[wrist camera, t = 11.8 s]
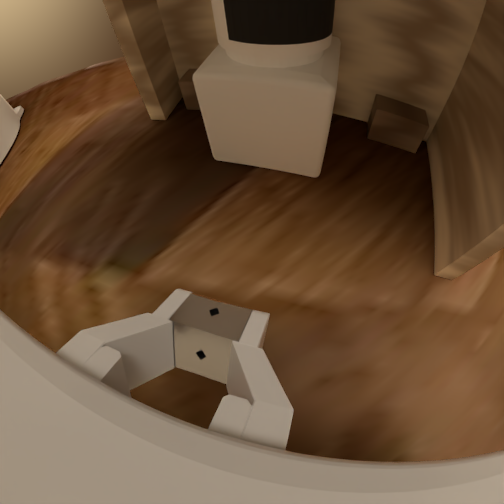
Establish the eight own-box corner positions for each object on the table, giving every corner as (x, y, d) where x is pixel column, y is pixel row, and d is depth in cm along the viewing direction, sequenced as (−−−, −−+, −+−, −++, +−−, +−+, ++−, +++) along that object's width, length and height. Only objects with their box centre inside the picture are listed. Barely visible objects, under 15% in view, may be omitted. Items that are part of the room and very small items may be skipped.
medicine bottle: (329, 113, 20) (347, -27, 8) (318, 181, 17) (349, -6, 6) (242, 99, 21) (225, -34, 10) (212, 162, 18) (167, -8, 7)
